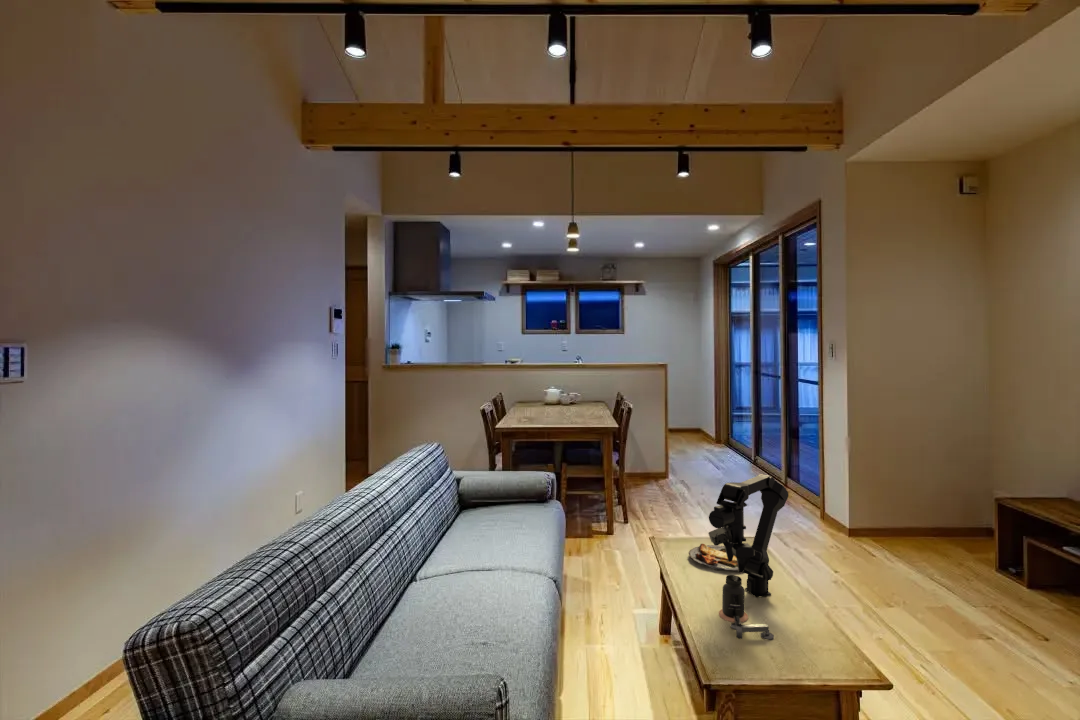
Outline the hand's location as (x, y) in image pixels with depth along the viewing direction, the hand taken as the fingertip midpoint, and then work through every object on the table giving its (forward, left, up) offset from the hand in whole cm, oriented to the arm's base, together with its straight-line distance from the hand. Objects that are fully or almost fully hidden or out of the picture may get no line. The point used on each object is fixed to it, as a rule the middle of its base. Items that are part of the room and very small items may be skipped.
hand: (735, 566), depth 189 cm
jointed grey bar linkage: (+7, +17, -13) cm, 23 cm away
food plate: (-16, -34, -13) cm, 40 cm away
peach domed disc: (+5, +7, -13) cm, 15 cm away
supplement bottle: (+5, +7, -13) cm, 15 cm away
